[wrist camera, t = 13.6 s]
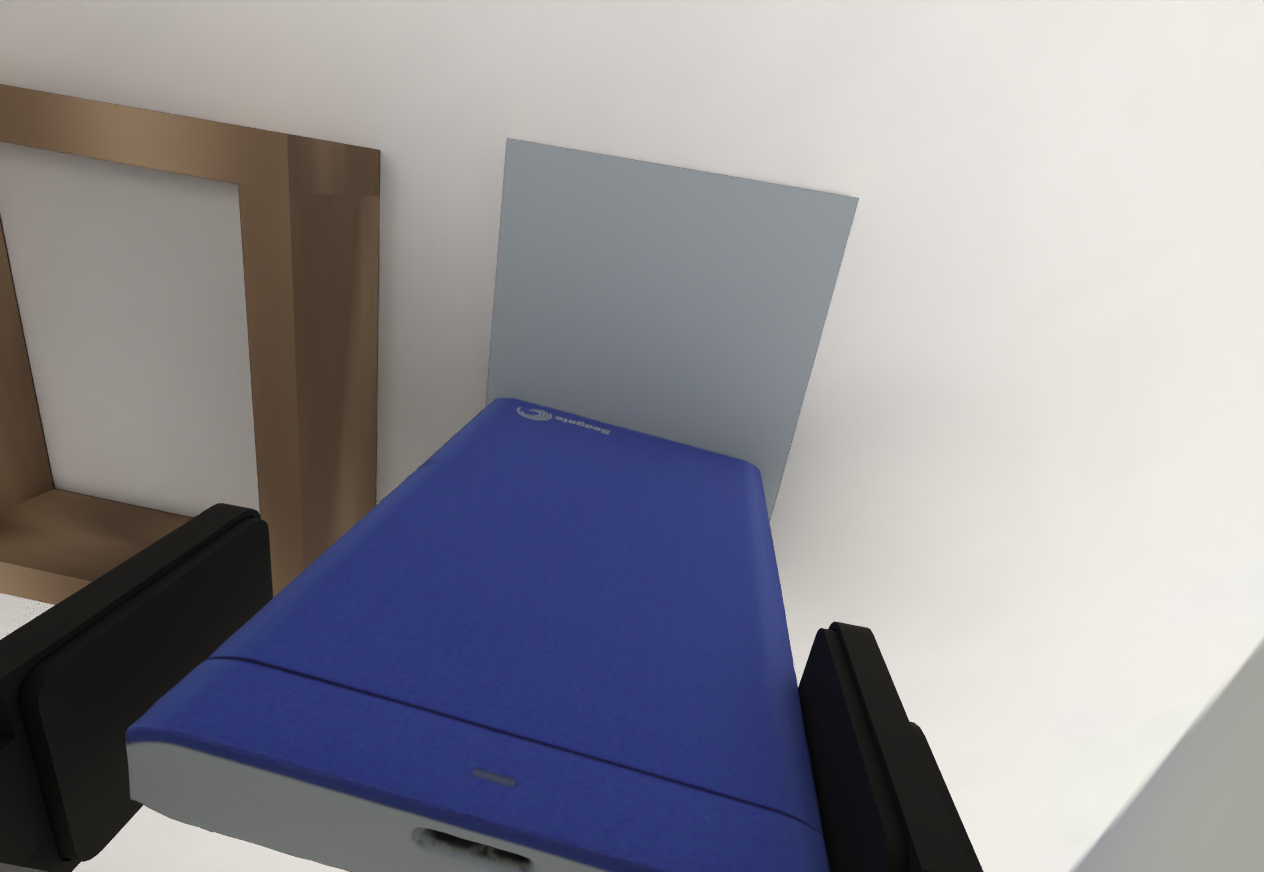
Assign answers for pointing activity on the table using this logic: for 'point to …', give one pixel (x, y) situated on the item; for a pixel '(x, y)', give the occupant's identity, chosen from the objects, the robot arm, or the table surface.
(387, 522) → the hard drive
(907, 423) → the table surface
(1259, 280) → the table surface
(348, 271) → the wooden square frame
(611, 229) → the mat
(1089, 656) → the table surface
